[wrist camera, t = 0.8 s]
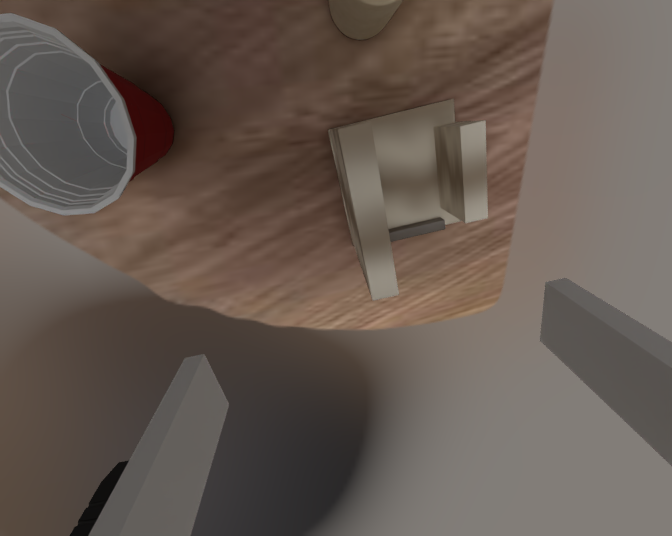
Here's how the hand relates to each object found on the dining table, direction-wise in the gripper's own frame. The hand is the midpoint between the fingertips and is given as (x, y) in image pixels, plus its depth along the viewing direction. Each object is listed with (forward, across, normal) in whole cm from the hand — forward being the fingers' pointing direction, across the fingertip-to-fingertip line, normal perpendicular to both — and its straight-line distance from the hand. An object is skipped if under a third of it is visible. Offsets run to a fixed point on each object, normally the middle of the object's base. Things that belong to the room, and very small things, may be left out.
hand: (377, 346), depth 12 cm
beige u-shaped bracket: (+23, +7, +2) cm, 24 cm away
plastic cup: (+24, -16, +11) cm, 31 cm away
